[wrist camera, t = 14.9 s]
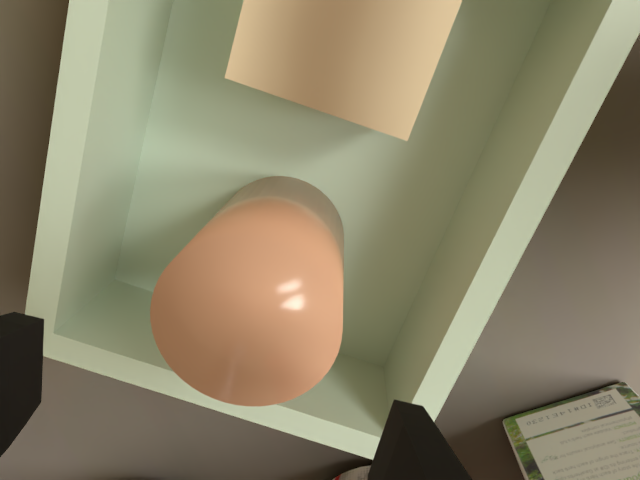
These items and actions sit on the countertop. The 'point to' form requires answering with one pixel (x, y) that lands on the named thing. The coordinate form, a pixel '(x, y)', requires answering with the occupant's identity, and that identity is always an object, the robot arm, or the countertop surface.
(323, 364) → the terracotta cylinder
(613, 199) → the countertop surface
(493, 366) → the countertop surface
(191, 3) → the sage tote
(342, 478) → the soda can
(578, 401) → the syrup box
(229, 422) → the countertop surface
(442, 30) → the maple cube
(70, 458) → the countertop surface
